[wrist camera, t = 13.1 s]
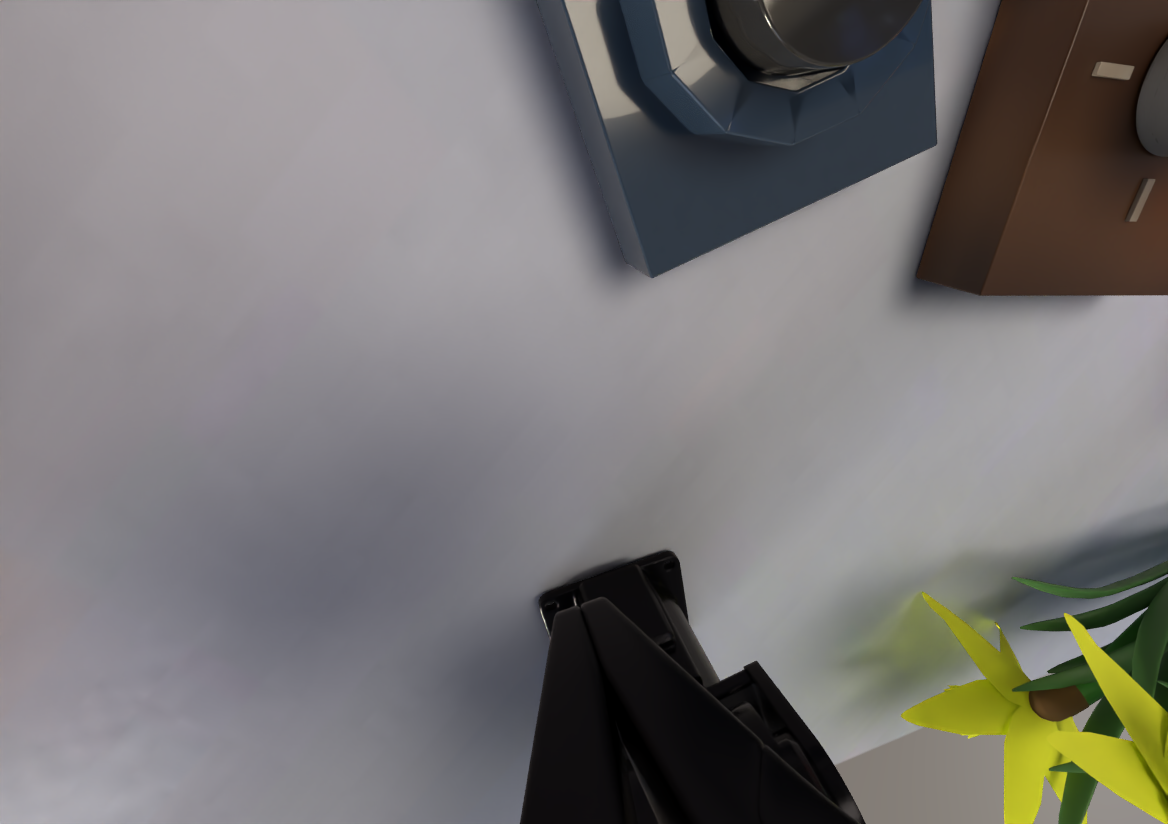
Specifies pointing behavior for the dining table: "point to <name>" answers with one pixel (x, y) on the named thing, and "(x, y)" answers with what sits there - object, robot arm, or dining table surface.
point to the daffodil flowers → (1071, 705)
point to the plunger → (809, 31)
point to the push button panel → (725, 122)
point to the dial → (1154, 106)
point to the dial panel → (1057, 159)
